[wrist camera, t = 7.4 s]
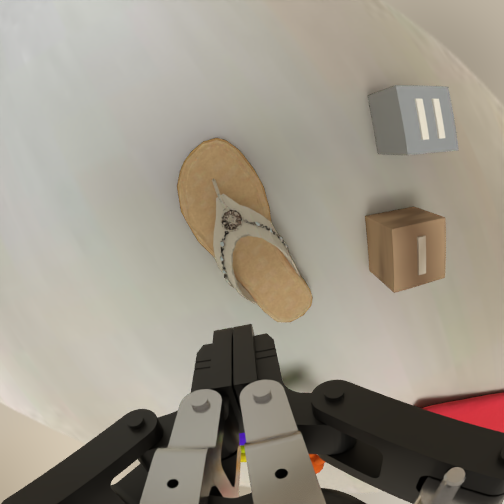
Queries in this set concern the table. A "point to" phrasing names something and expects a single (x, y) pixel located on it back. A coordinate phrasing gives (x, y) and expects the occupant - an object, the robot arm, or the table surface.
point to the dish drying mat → (475, 411)
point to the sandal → (240, 229)
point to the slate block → (413, 120)
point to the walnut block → (406, 247)
